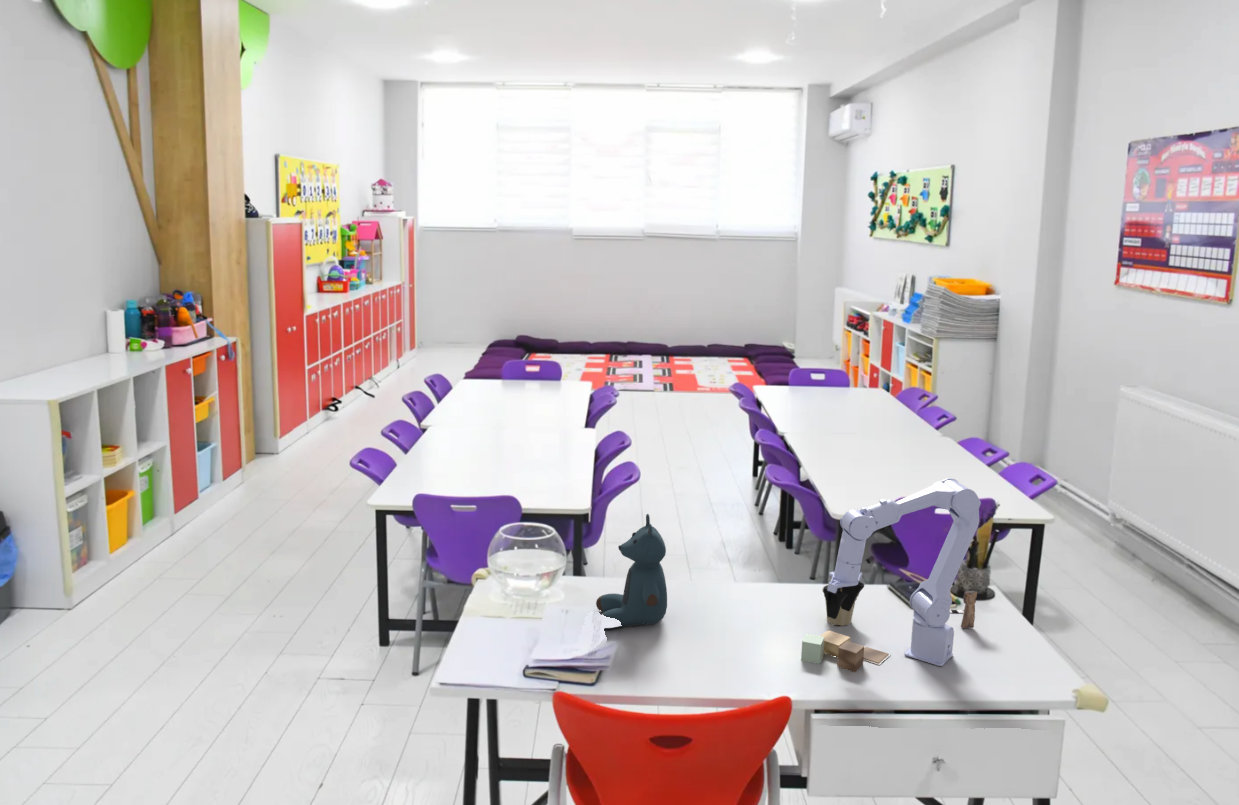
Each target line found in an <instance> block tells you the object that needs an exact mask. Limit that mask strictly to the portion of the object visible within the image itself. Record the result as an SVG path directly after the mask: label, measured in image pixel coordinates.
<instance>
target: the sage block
mask: <svg viewBox="0 0 1239 805" xmlns="http://www.w3.org/2000/svg"><path fill="white" fill-rule="evenodd" d="M800 654H801V655H800V656H801V657H800V660H801V661H803V660H804V662H808V661H809V663H813V662H815V664H819V663H820V664H821V662H822V660H823V658H822V657H824V654H825V653H824V637H822V636H821V635H816V634H815V635H814V634H810V633H805V635H804V637H803V639H802V641H801V652H800ZM821 659H822V660H821ZM820 661H821V662H820Z"/></svg>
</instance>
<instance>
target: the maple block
mask: <svg viewBox="0 0 1239 805" xmlns="http://www.w3.org/2000/svg"><path fill="white" fill-rule="evenodd" d="M820 636H822V637H824V654H825V653H826V654H825V655H828V654H829V655H828V656H831V655H832V657H834V656H836V657H838V649H839V647H840V646H841V645H842V644H844V643H845V642H846V641H849V642H851V637H850V636H848V635H844V634H841V633H838V632H835V631H832V630H827V631H825V632H824V633H822V634H821V635H820ZM836 657H835V658H836Z"/></svg>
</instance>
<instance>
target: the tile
mask: <svg viewBox="0 0 1239 805" xmlns="http://www.w3.org/2000/svg"><path fill="white" fill-rule="evenodd" d="M890 656H892V655H891V653H888V652H884V651H881V650H878V649H875V648H871V647H868V646H864V658H863V661H864V660H865V662H867V661H869V662H868V663H870V662H871V663H870V664H873V663H874V664H875V665H877V666H881V665H882V664H883V663H884V662H885V661H886V660H887V659H889V657H890ZM884 660H885V661H884ZM883 661H884V662H883ZM882 662H883V663H882Z"/></svg>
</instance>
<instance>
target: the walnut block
mask: <svg viewBox="0 0 1239 805" xmlns="http://www.w3.org/2000/svg"><path fill="white" fill-rule="evenodd" d="M864 647H865V645H861V644H858V643H855V642H851V641H850V642H849V641H846V642H845V643H844V644H842V645H841V646H840V647H839V649H838V658H837V665H836V666H839V667H838V668H840V667H841V669H843V668H844V670H846V669H847V670H846V671H849V670H850V672H853V673H856V672H857V671H858V670H860V669H861V668H862V667H863V666H862V665H864V660H863V658H864ZM861 666H862V667H861Z"/></svg>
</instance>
